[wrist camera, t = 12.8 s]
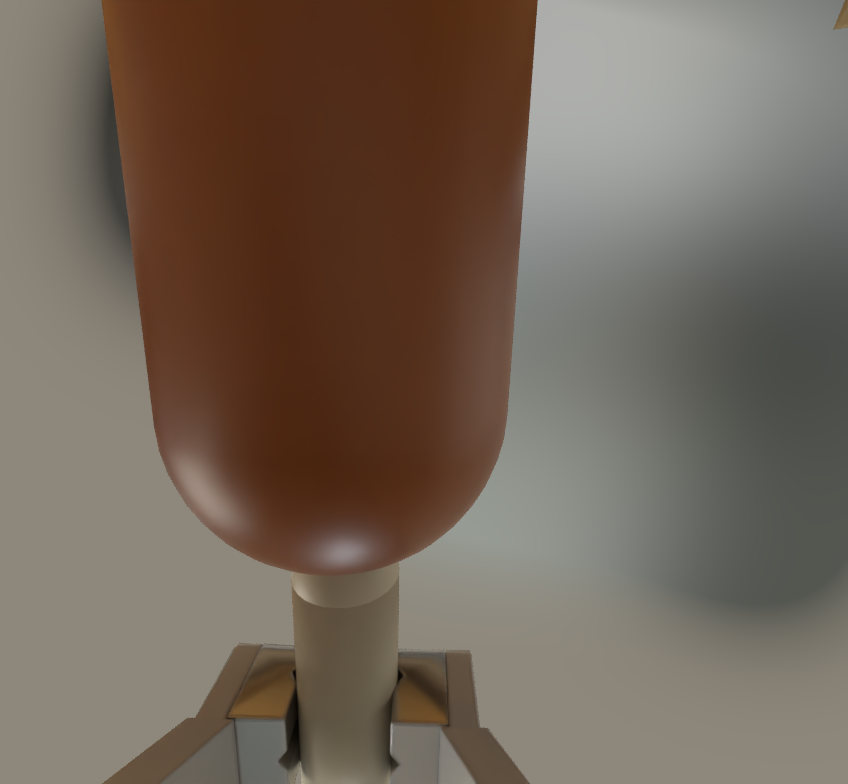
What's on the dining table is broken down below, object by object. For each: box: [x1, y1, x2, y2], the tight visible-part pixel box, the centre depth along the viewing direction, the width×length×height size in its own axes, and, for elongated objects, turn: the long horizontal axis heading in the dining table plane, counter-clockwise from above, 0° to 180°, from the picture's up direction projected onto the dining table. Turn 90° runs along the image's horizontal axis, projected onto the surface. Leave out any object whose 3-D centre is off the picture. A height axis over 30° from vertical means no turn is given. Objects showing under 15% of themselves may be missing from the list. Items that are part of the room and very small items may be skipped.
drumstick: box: [102, 0, 538, 784], centre depth 7 cm, size 5×5×21 cm
